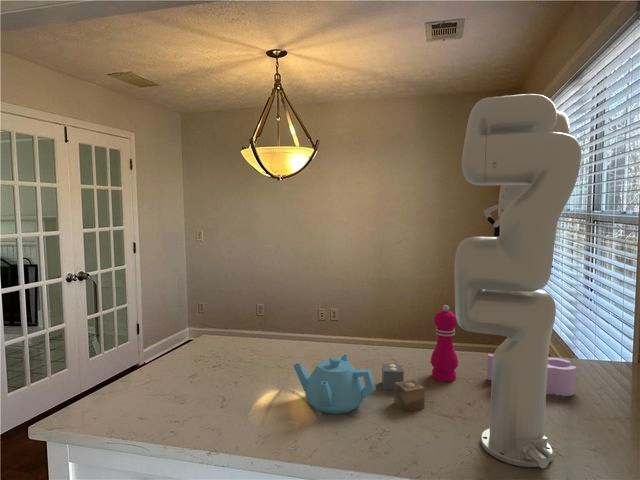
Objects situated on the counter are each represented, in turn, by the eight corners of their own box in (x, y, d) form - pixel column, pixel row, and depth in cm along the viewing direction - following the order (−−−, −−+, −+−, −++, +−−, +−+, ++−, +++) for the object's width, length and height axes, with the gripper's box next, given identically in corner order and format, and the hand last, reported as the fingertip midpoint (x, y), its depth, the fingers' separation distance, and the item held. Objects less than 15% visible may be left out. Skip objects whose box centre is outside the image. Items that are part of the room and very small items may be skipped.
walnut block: (424, 408, 100) (424, 387, 100) (405, 412, 98) (406, 390, 98) (412, 399, 105) (412, 379, 104) (394, 403, 103) (394, 382, 103)
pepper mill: (454, 372, 122) (456, 302, 120) (460, 383, 114) (462, 308, 113) (428, 371, 122) (430, 301, 121) (432, 381, 115) (434, 307, 113)
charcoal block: (403, 391, 110) (403, 371, 109) (383, 390, 110) (383, 370, 110) (400, 382, 115) (401, 364, 114) (381, 382, 115) (382, 363, 115)
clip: (562, 381, 117) (563, 356, 116) (582, 401, 104) (583, 373, 104) (484, 375, 120) (485, 351, 120) (494, 394, 108) (495, 367, 107)
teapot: (319, 424, 93) (319, 375, 92) (292, 396, 106) (292, 353, 105) (378, 409, 100) (379, 364, 99) (345, 385, 113) (346, 344, 112)
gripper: (484, 175, 109) (481, 243, 110) (562, 174, 102) (558, 246, 104) (485, 177, 116) (483, 241, 117) (558, 176, 109) (555, 243, 110)
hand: (518, 243), depth 110 cm, fingers open, 9 cm apart
